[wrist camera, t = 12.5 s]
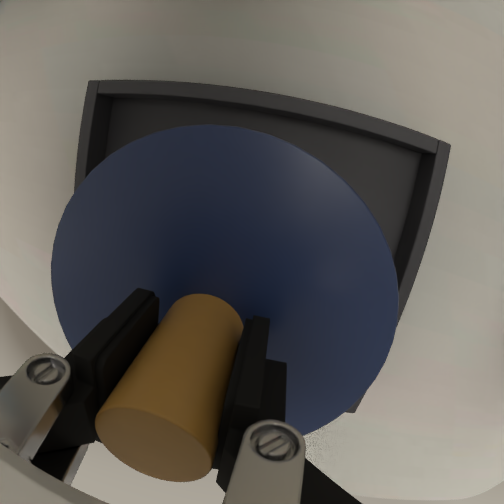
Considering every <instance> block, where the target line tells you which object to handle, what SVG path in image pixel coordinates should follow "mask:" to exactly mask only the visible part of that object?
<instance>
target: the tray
mask: <svg viewBox="0 0 504 504" xmlns="http://www.w3.org/2000/svg"><path fill="white" fill-rule="evenodd" d="M206 124H211V125H224V126H235V127H241V128H246V129H250V130H254V131H258V132H262V133H266V134H269V135H272V136H274V137H277V138H279V139H282V140H284V141H287V142H289V143H291V144H294V145H296V146H298V147H299V148H301V149H303V150H305V151H306V152H308V153H310V154H311V155H313V156H315V157H316V158H318V159H320V160H321V161H323V162H324V163H325V164H326V165H328V166H329V167H330V168H331V169H332V170H334V171H335V172H336V173H337V174H338V175H340V176H341V177H342V178H343V179H344V180H345V181H346V182H347V183H348V184H349V185H350V186H351V187H352V188H353V189H354V191H355V192H356V193H357V194H358V195H359V196H360V197H361V198H362V200H363V201H364V202H365V203H366V205H367V207H368V208H369V210H370V211H371V213H372V214H373V216H374V217H375V219H376V220H377V222H378V224H379V225H380V227H381V230H382V232H383V234H384V236H385V239H386V241H387V243H388V246H389V248H390V251H391V254H392V258H393V262H394V266H395V269H396V273H397V282H398V293H399V306H398V321H397V325H398V322H399V320H400V317H401V315H402V312H403V310H404V307H405V305H406V302H407V300H408V297H409V294H410V292H411V289H412V286H413V284H414V281H415V278H416V275H417V272H418V269H419V266H420V264H421V261H422V257H423V254H424V251H425V248H426V245H427V242H428V238H429V235H430V232H431V228H432V225H433V221H434V218H435V214H436V210H437V206H438V202H439V198H440V194H441V190H442V186H443V182H444V177H445V173H446V168H447V163H448V158H449V153H450V147H451V145H450V144H448V143H446V142H443V141H441V140H438V139H436V138H433V137H431V136H428V135H425V134H423V133H420V132H417V131H414V130H412V129H409V128H406V127H403V126H400V125H397V124H394V123H391V122H388V121H385V120H381V119H378V118H375V117H372V116H368V115H365V114H361V113H358V112H354V111H350V110H347V109H343V108H339V107H335V106H331V105H327V104H323V103H319V102H314V101H310V100H305V99H300V98H295V97H290V96H285V95H280V94H274V93H269V92H263V91H257V90H250V89H243V88H236V87H228V86H220V85H211V84H201V83H189V82H175V81H156V80H101V81H100V80H90V81H89V82H88V87H87V92H86V97H85V103H84V109H83V115H82V121H81V128H80V136H79V143H78V152H77V162H76V173H75V187H74V193H75V191H76V189H77V188H78V187H79V185H80V184H81V183H82V182H83V181H84V179H85V178H86V177H87V176H88V175H89V173H90V172H91V171H92V170H93V169H94V168H95V167H97V166H98V165H99V164H100V163H101V162H102V161H104V160H105V159H106V158H107V157H108V156H109V155H111V154H112V153H114V152H116V151H117V150H119V149H120V148H122V147H124V146H125V145H127V144H129V143H130V142H133V141H135V140H137V139H140V138H142V137H145V136H147V135H150V134H152V133H155V132H159V131H163V130H167V129H171V128H176V127H180V126H192V125H206ZM397 325H396V327H397ZM365 393H366V392H365ZM365 393H364V394H363V395H362V396H361V397H360V398H359V399H358V400H357V401H356V402H355V403H354V404H353V405H352V406H351V407H350V408H349V409H348V410H346V411H345V412H347V413H355V411H356V409H357V407H358V406H359V404H360V402H361V400H362V398H363V396H364V395H365Z"/></svg>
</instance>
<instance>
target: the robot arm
mask: <svg viewBox="0 0 504 504" xmlns="http://www.w3.org/2000/svg"><path fill="white" fill-rule="evenodd" d="M159 303H160V300H159V297H156V296H155V293H154V291H150V290H146V289H142V288H136V289H135V290H134V291H133V292H132V293H131V294H130V295H129V296H128V297H127V298H126V299H125V300H124V301H123V302H122V303H121V304H120V305H119V306H118V307H117V308H116V309H115V310H114V311H113V312H112V313H111V314H110V315H109V316H108V317H107V318H104V319H102V320H101V321H100V322H99V323H98V324H97V325H96V326H95V327H94V328H93V329H92V330H91V331H90V332H89V333H88V334H87V335H86V336H85V337H84V338H83V339H82V340H81V341H80V342H79V343H78V344H77V346H76V347H75V348H74V349H73V350H72V351H71V352H70V353H69V354H68V355H67V356H66V357H65V358H63V357H61V356H59V355H56V354H52V353H43V354H38V355H35V356H33V357H30V358H29V359H28V360H27V361H25V363H24V364H23V365H22V366H21V367H20V368H19V369H18V370H17V372H16V373H15V374H14V375H13V376H4V377H0V504H108V503H106V502H103V501H101V500H99V499H97V498H94V497H92V496H90V495H88V494H86V493H84V492H81V491H79V490H78V489H75V488H73V487H71V483H72V481H73V479H74V477H75V475H76V472H77V470H78V468H79V466H80V464H81V462H82V460H83V458H84V455H85V453H86V451H87V449H88V445H89V443H94V441H95V440H96V441H98V442H101V443H102V441H101V440H100V438H99V436H98V434H97V432H96V429H95V418H96V415H97V413H98V412H99V410H100V409H101V407H102V406H103V404H104V403H105V401H106V400H107V399H108V397H109V396H110V394H111V393H112V391H113V390H114V388H115V387H116V385H117V384H118V382H119V381H120V379H121V378H122V376H123V375H124V373H125V372H126V371H127V369H128V368H129V366H130V365H131V363H132V362H133V360H134V359H135V358H136V356H137V355H138V353H139V352H140V350H141V349H142V347H143V346H144V345H145V343H146V342H147V340H148V339H149V337H150V336H151V335H152V333H153V332H154V330H155V329H156V328H157V326H158V321H159ZM269 326H270V318H265V317H260V316H256V315H253V319H248V318H246V319H245V323H244V327H243V331H242V335H241V339H240V343H239V347H238V351H237V355H236V359H235V363H234V366H233V370H232V374H231V378H230V382H229V386H228V390H227V394H226V398H225V402H224V407H223V411H222V416H221V421H220V426H219V431H218V446H217V450H216V454H215V458H214V462H213V466H212V468H213V469H218V470H219V471H218V475H217V480H216V482H217V484H218V485H219V486H220V487H221V488H222V489H223V491H224V492H225V493H226V494H225V497H224V500H223V503H222V504H362V503H361V502H359V501H358V500H357V499H355V498H354V497H353V496H351V495H350V494H349V493H347V492H346V491H345V490H344V489H342V488H341V487H340V486H339V485H337V484H336V483H335V482H334V481H332V480H331V479H330V478H329V477H327V476H326V475H325V474H324V473H322V472H321V471H320V470H319V469H318V468H316V467H315V466H314V465H313V464H312V463H311V462H309V461H308V460H307V459H306V458H305V453H306V444H305V439H304V438H303V436H302V434H301V433H300V432H299V431H298V430H297V429H296V428H295V427H293V426H291V425H290V424H288V423H285V416H286V385H287V363H286V362H281V361H275V360H270V359H266V353H267V344H268V335H269Z"/></svg>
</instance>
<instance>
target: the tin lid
mask: <svg viewBox="0 0 504 504" xmlns="http://www.w3.org/2000/svg"><path fill="white" fill-rule="evenodd" d="M51 281H52V290H53V297H54V303H55V307H56V311H57V314H58V318H59V321H60V324H61V327H62V329H63V332H64V334H65V337H66V339H67V341H68V343H69V345H70V347H71V348H72V350H73V349H74V348H75V347H76V346H77V344H78V343H79V342H80V341H81V340H82V339H83V338H84V337H85V336H86V335H87V334H88V333H89V332H90V331H91V330H92V329H93V328H94V327H95V326H96V325H97V324H98V323H99V322H100V321H101V320H102V319H104V318H107V317H108V316H109V315H110V314H111V313H112V312H113V311H114V310H115V309H116V308H117V307H118V306H119V305H120V304H121V303H122V302H123V301H124V300H125V299H126V298H127V297H128V296H129V295H130V294H131V293H132V292H133V291H134V290H135V289H136V288H142V289H146V290H150V291H154V293H155V296H156V297H159V300H160V303H159V321H158V326H157V328H156V329H155V330H154V332H153V333H152V335H151V336H150V337H149V339H148V340H147V342H146V343H145V345H144V346H143V347H142V349H141V350H140V352H139V353H138V355H137V356H136V358H135V359H134V360H133V362H132V363H131V365H130V366H129V368H128V369H127V371H126V372H125V373H124V375H123V376H122V378H121V379H120V381H119V382H118V384H117V385H116V387H115V388H114V390H113V391H112V393H111V394H110V396H109V397H108V399H107V400H106V401H105V403H104V404H103V406H102V407H101V409H100V410H99V412H98V413H97V415H96V418H95V429H96V432H97V434H98V436H99V438H100V440H101V441H102V443H103V444H104V446H105V447H106V448H107V449H108V450H109V451H110V452H111V453H112V454H113V455H115V457H117V458H118V459H119V460H120V461H122V462H123V463H125V464H126V465H128V466H130V467H131V468H133V469H135V470H137V471H139V472H141V473H143V474H146V475H148V476H151V477H154V478H158V479H161V480H166V481H174V482H189V481H195V480H198V479H201V478H202V477H204V476H206V475H207V474H208V473H209V472H210V470H211V469H212V466H213V462H214V458H215V454H216V450H217V446H218V431H219V426H220V421H221V416H222V411H223V407H224V402H225V398H226V394H227V390H228V386H229V382H230V378H231V374H232V370H233V366H234V363H235V359H236V355H237V351H238V347H239V343H240V339H241V335H242V331H243V327H244V323H245V319H246V318H248V319H253V315H256V316H260V317H265V318H270V326H269V335H268V344H267V353H266V359H270V360H275V361H281V362H286V363H287V385H286V416H285V423H288V424H290V425H291V426H293V427H295V428H296V429H297V430H298V431H299V432H300V433H301V434H302V436H303V435H306V434H308V433H310V432H313V431H315V430H317V429H319V428H321V427H323V426H324V425H326V424H328V423H330V422H331V421H333V420H335V419H336V418H337V417H339V416H340V415H341V414H343V413H344V412H345V411H346V410H348V409H349V408H350V407H351V406H352V405H353V404H354V403H355V402H356V401H357V400H358V399H359V398H360V397H361V396H362V395H363V394H364V393H365V392H366V391H367V389H368V388H369V387H370V385H371V384H372V383H373V381H374V380H375V379H376V377H377V375H378V374H379V372H380V370H381V368H382V366H383V365H384V363H385V361H386V358H387V356H388V353H389V351H390V348H391V345H392V343H393V339H394V335H395V330H396V325H397V321H398V306H399V293H398V282H397V273H396V269H395V266H394V262H393V258H392V254H391V251H390V248H389V246H388V243H387V241H386V239H385V236H384V234H383V232H382V230H381V227H380V225H379V224H378V222H377V220H376V219H375V217H374V216H373V214H372V213H371V211H370V210H369V208H368V207H367V205H366V203H365V202H364V201H363V200H362V198H361V197H360V196H359V195H358V194H357V193H356V192H355V191H354V189H353V188H352V187H351V186H350V185H349V184H348V183H347V182H346V181H345V180H344V179H343V178H342V177H341V176H340V175H338V174H337V173H336V172H335V171H334V170H332V169H331V168H330V167H329V166H328V165H326V164H325V163H324V162H323V161H321V160H320V159H318V158H316V157H315V156H313V155H311V154H310V153H308V152H306V151H305V150H303V149H301V148H299V147H298V146H296V145H294V144H291V143H289V142H287V141H284V140H282V139H279V138H277V137H274V136H272V135H269V134H266V133H262V132H258V131H254V130H250V129H246V128H241V127H235V126H224V125H211V124H206V125H192V126H180V127H176V128H171V129H167V130H163V131H159V132H155V133H152V134H150V135H147V136H145V137H142V138H140V139H137V140H135V141H133V142H130V143H129V144H127V145H125V146H124V147H122V148H120V149H119V150H117V151H116V152H114V153H112V154H111V155H109V156H108V157H107V158H106V159H105V160H104V161H102V162H101V163H100V164H99V165H98V166H97V167H95V168H94V169H93V170H92V171H91V172H90V173H89V175H88V176H87V177H86V178H85V179H84V181H83V182H82V183H81V184H80V185H79V187H78V188H77V189H76V191H75V193H74V194H73V196H72V198H71V199H70V201H69V203H68V204H67V206H66V208H65V210H64V213H63V215H62V218H61V220H60V222H59V225H58V229H57V232H56V236H55V240H54V244H53V252H52V261H51Z"/></svg>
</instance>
